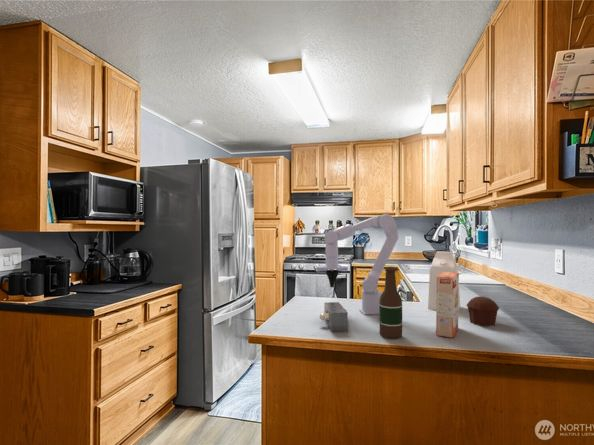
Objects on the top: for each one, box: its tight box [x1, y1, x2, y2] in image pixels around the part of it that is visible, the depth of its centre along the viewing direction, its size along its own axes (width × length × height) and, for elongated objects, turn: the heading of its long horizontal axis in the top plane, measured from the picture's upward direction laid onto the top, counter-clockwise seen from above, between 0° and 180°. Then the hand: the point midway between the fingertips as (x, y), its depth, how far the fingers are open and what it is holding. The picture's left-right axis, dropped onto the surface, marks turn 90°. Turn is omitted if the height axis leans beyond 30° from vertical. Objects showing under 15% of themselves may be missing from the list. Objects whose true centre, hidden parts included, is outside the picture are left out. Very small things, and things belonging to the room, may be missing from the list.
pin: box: [319, 312, 329, 321], centre depth 133 cm, size 10×5×5 cm, turn 95°
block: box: [323, 301, 349, 333], centre depth 133 cm, size 6×16×7 cm, turn 5°
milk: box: [427, 250, 461, 311], centre depth 159 cm, size 12×12×26 cm
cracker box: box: [435, 272, 460, 339], centre depth 124 cm, size 14×6×21 cm, turn 148°
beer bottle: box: [378, 266, 403, 340], centre depth 121 cm, size 8×8×24 cm
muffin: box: [466, 296, 500, 327], centre depth 135 cm, size 12×11×10 cm
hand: (332, 287), depth 156 cm, fingers closed
